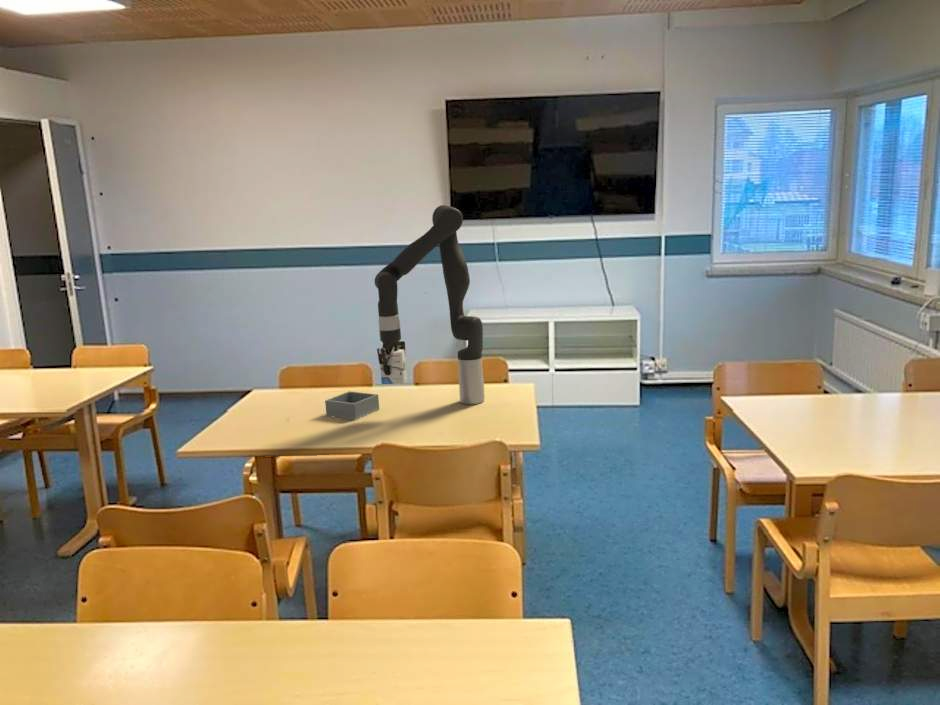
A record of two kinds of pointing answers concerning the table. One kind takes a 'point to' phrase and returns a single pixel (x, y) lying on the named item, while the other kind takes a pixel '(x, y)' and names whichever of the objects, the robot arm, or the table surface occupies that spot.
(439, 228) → the robot arm
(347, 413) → the grey bin
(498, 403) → the table surface
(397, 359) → the ink box
